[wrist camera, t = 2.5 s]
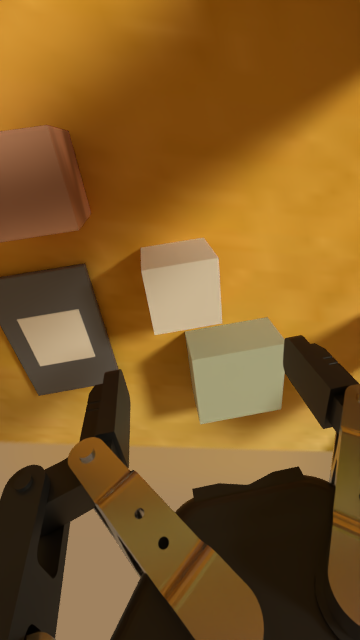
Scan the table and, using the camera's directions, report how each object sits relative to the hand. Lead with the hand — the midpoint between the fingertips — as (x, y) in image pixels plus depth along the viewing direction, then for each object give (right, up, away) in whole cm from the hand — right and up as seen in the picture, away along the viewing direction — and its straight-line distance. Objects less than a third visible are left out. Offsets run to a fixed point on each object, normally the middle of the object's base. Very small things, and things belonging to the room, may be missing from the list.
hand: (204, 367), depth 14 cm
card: (-12, +1, +11) cm, 16 cm away
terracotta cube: (-10, +12, +5) cm, 16 cm away
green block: (+4, -1, +15) cm, 16 cm away
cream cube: (-2, +6, +10) cm, 12 cm away
